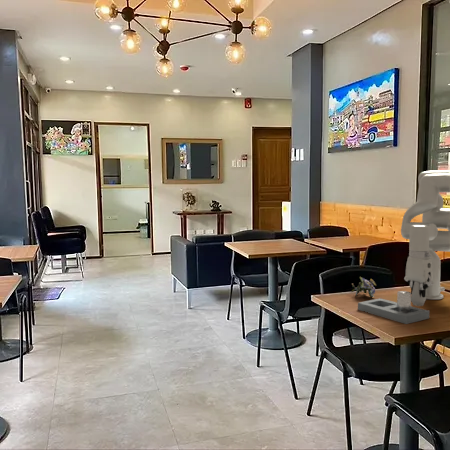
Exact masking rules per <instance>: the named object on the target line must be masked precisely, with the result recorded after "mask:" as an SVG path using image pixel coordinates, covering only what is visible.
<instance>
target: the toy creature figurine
mask: <svg viewBox="0 0 450 450" xmlns="http://www.w3.org/2000/svg"><path fill="white" fill-rule="evenodd" d="M359 279H360V282H358V285H357V287H355V286H354V283H351V285H352V287H353V289H352V290H351V293H353V292H355V291H356V292H355V296H358V294H359V293H360V292H361V293H362V292H363V294H364V293H366V294H367V293H368V296H369V297H370V298H372V297H374V298H375V294H376V288H375V287H377V283H376V282H375V281H374V279H372V278H371V279H370V280H368V279H365V278H363V277H361V276H359ZM374 286H375V287H374Z"/></svg>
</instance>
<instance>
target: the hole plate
mask: <svg viewBox="0 0 450 450" xmlns="http://www.w3.org/2000/svg"><path fill="white" fill-rule="evenodd" d="M357 310H359V311H361V312H364V311H365V313H367V312H368V313H367V314H372V315H375V316H376V317H377V316H378V317H381V318H385V319H388V320H391V321H394V322H398V323H401V324H405V325H408V324H413V323H416V322H421V321H424V320H429V319H430V310H427V309H423V308H420V307H417V306H412V305H411V313H406V314H405V313H402V312H398V311H397V301H392V300H388V299H384V298H382V297H379V298H373V299H370V300H365V301H361V302H357Z"/></svg>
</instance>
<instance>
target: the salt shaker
mask: <svg viewBox="0 0 450 450" xmlns="http://www.w3.org/2000/svg"><path fill="white" fill-rule="evenodd" d="M419 290H421V289H420V282H416V281H414V285H413V290H412V295H411V303H412V305H413V306H414V307H423V306H424V305H425V302H426V301H427V299H426V298H425V297H422V293H421V297H420V295H419Z"/></svg>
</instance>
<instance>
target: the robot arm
mask: <svg viewBox="0 0 450 450" xmlns="http://www.w3.org/2000/svg"><path fill="white" fill-rule="evenodd" d="M417 180H418V192H417V196H416V202H415V203H413V204H412V205H411V206H410V207H408V209H407V210H406V211H405V212H404V215H403V217H402V222H401V226H400V233H401V237H402V238H403V239H405V240H408V241H409V243H408V245H409V247H408V248H409V249H408V250H409V251H408V252H409V253H408V256H407V261H406V266H405V276H404V278H403V280H404V281H405V282H407V284H408V285H409V288H410V292H411V295H412V290H413V285H414V281H416V282H420V289H421V290H419V295H420V297H421V293H422V297H425V298H426V300H442V299H444V294H443V293H441V292H444V291H445V290H446V289H445V287H444V286H441V263H442V262H441V258H440V256H439V255H438V254H437V253H436V252H449V253H450V208H444V198H443V196H442V195H441V194H440V193H450V169H447V170H444V169H443V170H426V171H421V172H420V173H419V174H418V179H417ZM420 215H422V217H421V218H422V219H421V222H419V221H418V222H417V221H412V220H413V219H414V218H415V217H417V216H420ZM439 229H441V230H439ZM442 229H444V230H442ZM445 229H446V230H445Z"/></svg>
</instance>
